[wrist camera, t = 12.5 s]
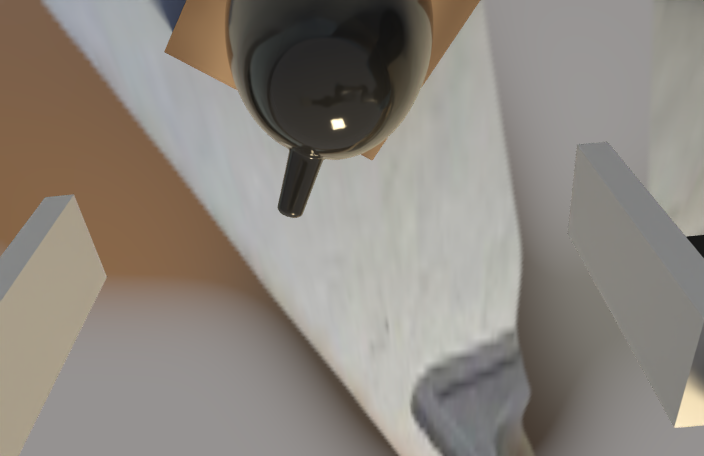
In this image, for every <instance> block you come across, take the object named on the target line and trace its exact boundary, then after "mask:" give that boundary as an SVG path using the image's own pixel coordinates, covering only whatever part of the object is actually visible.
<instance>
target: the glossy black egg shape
mask: <svg viewBox="0 0 704 456" xmlns="http://www.w3.org/2000/svg"><path fill="white" fill-rule="evenodd" d="M225 43H226V52H227V58H228V63H229V67H230V70H231V74H232V77H233V80H234V83H235V85H236V88H237V90H238V93H239V95H240V97H241V99H242V101H243V103H244V105H245V106H246V108H247V110H248V111H249V113H250V114H251V116H252V117H253V119H254V120H255V121H256V123H257V124H258V125H259V126H260V127H261V128H262V129H263V130H264V131H265V132H266V133H267V134H268V135H269V136H270V137H271V138H272V139H274V140H275V141H276V142H277V143H279V144H281V145H282V146H284V147H286V148H288V149H289V155H288V160H287V165H286V170H285V174H284V179H283V184H282V189H281V193H280V198H279V203H278V210H279V211H280V213H282V214H283V215H285V216H287V217H291V218H297V217H300V216H301V215H302V214H303V212H304V209H305V206H306V204H307V201H308V199H309V196H310V193H311V191H312V188H313V185H314V183H315V180H316V177H317V175H318V172H319V170H320V167H321V164H322V162H323V160H325V159H329V160H340V159H346V158H351V157H354V156H357V155H360V154H362V153H365V152H367V151H369V150H370V149H372V148H374V147H375V146H377V145H378V144H380V143H381V142H382V141H384V140H385V139H386V138H387V137H388V136H390V135H391V134H392V133H393V132H394V131H395V130H396V128H397V127H398V126H399V125H400V124H401V123H402V121H403V120H404V119H405V117H406V116H407V114H408V113H409V111H410V109H411V107H412V106H413V104H414V102H415V100H416V98H417V96H418V94H419V91H420V89H421V87H422V84H423V82H424V79H425V76H426V73H427V70H428V66H429V62H430V57H431V52H432V44H433V8H432V2H431V0H227V2H226V9H225Z"/></svg>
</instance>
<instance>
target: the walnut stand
mask: <svg viewBox="0 0 704 456" xmlns="http://www.w3.org/2000/svg"><path fill="white" fill-rule="evenodd" d="M479 1H480V0H431V2H432V8H433V44H432V52H431V57H430V62H429V66H428V70H427V73H426V76H425V79H424V82H423V84H424V83H425V81H426V80H427V78H428V77H429V75H430V74H431V73H432V71H433V70H434V68H435V67H436V65H437V64H438V62H439V61H440V59H441V58H442V56H443V55H444V53H445V52H446V50H447V49H448V47H449V46H450V44H451V43H452V41H453V40H454V38H455V37H456V35H457V34H458V32H459V31H460V29H461V28H462V27H463V25H464V24H465V22H466V21H467V19H468V18H469V16H470V15H471V13H472V12H473V10H474V9H475V7H476V6H477V4H478V3H479ZM226 2H227V0H186V3H185V5H184V7H183V10H182V12H181V14H180V16H179V19H178V21H177V23H176V26H175V28H174V30H173V33H172V35H171V37H170V40H169V42H168V44H167V47H166V49H165V51H164V52H165V53H167V54H169V55H171V56H173V57H175V58H177V59H179V60H180V61H182V62H184V63H186V64H188V65H190V66H192V67H194V68H196V69H198V70H200V71H202V72H203V73H205V74H207V75H209V76H211V77H213V78H215V79H217V80H219V81H221V82H223V83H225V84H227V85H228V86H230V87H232V88H234V89H236V90H237V88H236V85H235V83H234V80H233V77H232V74H231V70H230V67H229V63H228V58H227V52H226V43H225V9H226ZM423 84H422V86H423ZM387 138H388V137H387ZM387 138H386V139H387ZM386 139H385V140H384V141H382V142H381V143H380V144H378V145H377V146H375V147H374V148H372V149H370V150H369V151H367V152H365V153H362V154H361V155H363V156H365V157H367V158H368V159H370V160H373V159H374V157H375V156H376V154H377V153H378V151H379V150H380V148H381V147H382V145H383V144H384V142H385V141H386Z"/></svg>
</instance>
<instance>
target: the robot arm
mask: <svg viewBox="0 0 704 456" xmlns="http://www.w3.org/2000/svg"><path fill="white" fill-rule="evenodd" d="M568 235H569V237H570V239H571V241H572V243H573V244H574V246H575V248H576V250H577V252H578V254H579V255H580V257H581V259H582V261H583V263H584V265H585V266H586V268H587V270H588V272H589V273H590V275H591V277H592V279H593V281H594V283H595V284H596V286H597V288H598V290H599V292H600V294H601V295H602V297H603V299H604V301H605V303H606V305H607V306H608V308H609V310H610V312H611V314H612V315H613V317H614V319H615V321H616V323H617V324H618V326H619V328H620V330H621V332H622V334H623V335H624V337H625V339H626V341H627V343H628V345H629V346H630V348H631V350H632V352H633V354H634V355H635V357H636V359H637V361H638V363H639V365H640V366H641V368H642V370H643V372H644V374H645V375H646V377H647V379H648V381H649V382H650V384H651V386H652V388H653V390H654V392H655V394H656V395H657V397H658V399H659V401H660V403H661V405H662V406H663V408H664V410H665V412H666V413H667V415H668V417H669V419H670V421H671V423H672V424H673V426H674V428H676V427H689V426H701V425H704V235H698V236H688V237H686V236H685V235H684V234H683V233H682V231H681V230H680V229H679V228H678V227H677V225H676V224H675V223H674V222H673V221H672V219H671V218H670V217H669V216H668V214H667V213H666V212H665V211H664V210H663V208H662V207H661V206H660V205H659V204H658V202H657V201H656V200H655V199H654V197H653V196H652V195H651V194H650V193H649V191H648V190H647V189H646V188H645V187H644V185H643V184H642V183H641V182H640V181H639V179H638V178H637V177H636V176H635V174H634V173H633V172H632V171H631V170H630V168H628V166H627V165H626V164H625V162H624V161H623V160H622V159H621V158H620V156H619V155H618V154H617V153H616V151H615V150H614V149H613V148H612V147H611V145H610V144H609V143H608V142H599V143H589V144H579V145H577V151H576V161H575V169H574V179H573V188H572V197H571V206H570V215H569V225H568ZM106 277H107V276H106V274H105V272H104V269H103V266H102V264H101V262H100V259H99V256H98V254H97V251H96V249H95V247H94V244H93V241H92V239H91V236H90V234H89V231H88V229H87V227H86V224H85V221H84V219H83V216H82V214H81V212H80V209H79V206H78V204H77V201H76V199H75V196H74V195H66V196H55V197H46V198H44V200H43V201H42V202H41V204H40V205H39V206H38V208H37V209H36V211H35V212H34V213H33V215H32V216H31V217H30V219H29V220H28V221H27V222H26V224H25V225H24V227H23V228H22V229H21V230H20V232H19V233H18V234H17V236H16V237H15V238H14V240H13V241H12V242H11V244H10V245H9V246H8V248H7V249H6V251H5V252H4V253H3V254H2V256H1V257H0V456H19V454H20V452H21V450H22V448H23V446H24V444H25V442H26V440H27V438H28V436H29V434H30V432H31V430H32V428H33V426H34V424H35V422H36V420H37V418H38V416H39V414H40V412H41V410H42V408H43V406H44V404H45V402H46V399H47V398H48V395H49V393H50V391H51V389H52V387H53V385H54V383H55V381H56V379H57V377H58V375H59V373H60V371H61V369H62V367H63V365H64V363H65V361H66V359H67V357H68V355H69V353H70V351H71V349H72V347H73V344H74V343H75V341H76V338H77V337H78V334H79V332H80V330H81V328H82V326H83V324H84V322H85V320H86V318H87V316H88V314H89V312H90V310H91V308H92V306H93V304H94V302H95V300H96V298H97V296H98V294H99V292H100V289H101V288H102V286H103V284H104V282H105V279H106Z"/></svg>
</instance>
